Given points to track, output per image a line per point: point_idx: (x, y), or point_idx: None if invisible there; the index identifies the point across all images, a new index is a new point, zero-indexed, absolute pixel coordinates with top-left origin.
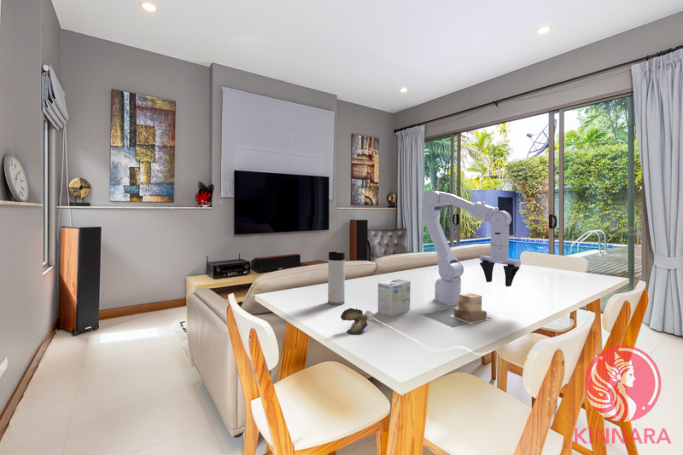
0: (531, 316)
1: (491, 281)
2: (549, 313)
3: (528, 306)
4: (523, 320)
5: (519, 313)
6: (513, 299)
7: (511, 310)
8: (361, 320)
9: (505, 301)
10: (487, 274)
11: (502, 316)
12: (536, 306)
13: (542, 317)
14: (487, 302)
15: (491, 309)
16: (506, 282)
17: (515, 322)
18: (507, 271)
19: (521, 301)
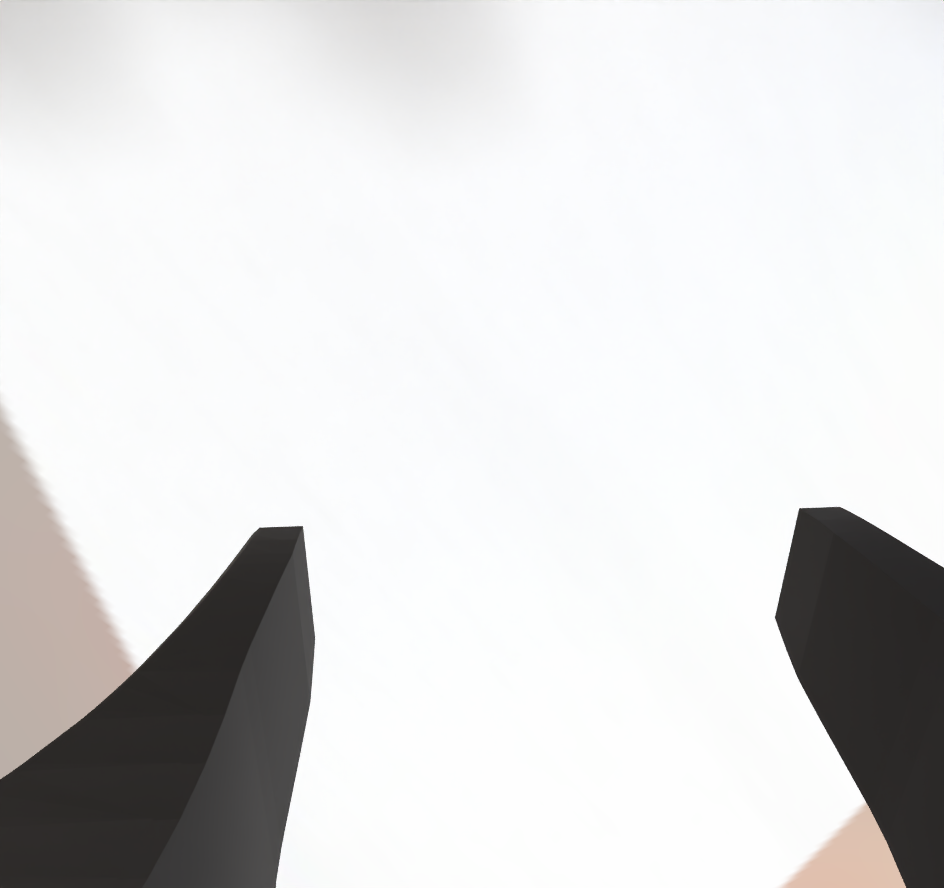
0: (180, 538)
1: (777, 618)
2: None
3: (463, 787)
4: (80, 317)
5: (322, 516)
6: (703, 851)
7: (450, 533)
8: None
9: (711, 742)
10: (913, 634)
11: (316, 208)
12: (425, 842)
13: (111, 607)
14: None
15: (608, 348)
16: (247, 572)
17: (35, 132)
18: (42, 805)
19: (614, 858)
